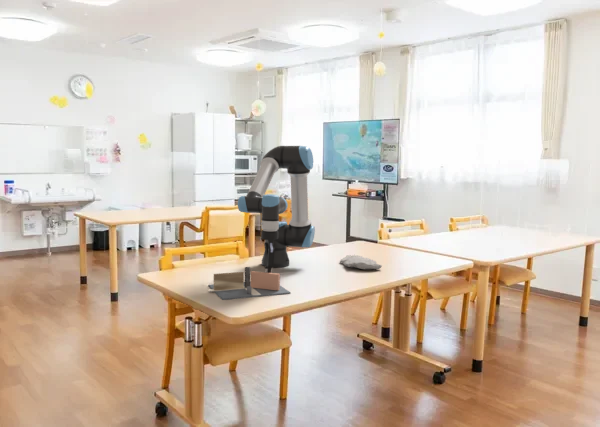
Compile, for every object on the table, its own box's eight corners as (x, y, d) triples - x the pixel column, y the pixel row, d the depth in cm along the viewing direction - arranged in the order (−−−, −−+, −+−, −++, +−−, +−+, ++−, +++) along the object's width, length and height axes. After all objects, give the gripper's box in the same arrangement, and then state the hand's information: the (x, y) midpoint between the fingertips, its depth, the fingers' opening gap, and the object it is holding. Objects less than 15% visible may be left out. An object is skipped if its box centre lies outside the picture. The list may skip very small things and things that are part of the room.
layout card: (204, 286, 234) (204, 278, 234) (271, 280, 247) (271, 273, 247) (217, 300, 212) (217, 291, 212) (290, 293, 225) (290, 285, 225)
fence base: (213, 289, 227) (213, 269, 226) (249, 286, 233) (249, 266, 232) (214, 290, 225) (214, 270, 224) (250, 287, 231) (250, 267, 230)
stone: (384, 270, 274) (357, 259, 302) (384, 260, 274) (357, 250, 301) (354, 274, 268) (329, 263, 296) (354, 263, 267) (329, 253, 295)
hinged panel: (252, 286, 232) (252, 271, 231) (279, 289, 228) (279, 273, 227) (250, 287, 230) (250, 271, 230) (278, 290, 226) (278, 274, 225)
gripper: (259, 227, 234) (258, 279, 237) (263, 232, 222) (262, 286, 225) (275, 227, 236) (274, 278, 239) (281, 232, 224) (279, 285, 227)
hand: (268, 282), depth 232 cm, fingers closed
